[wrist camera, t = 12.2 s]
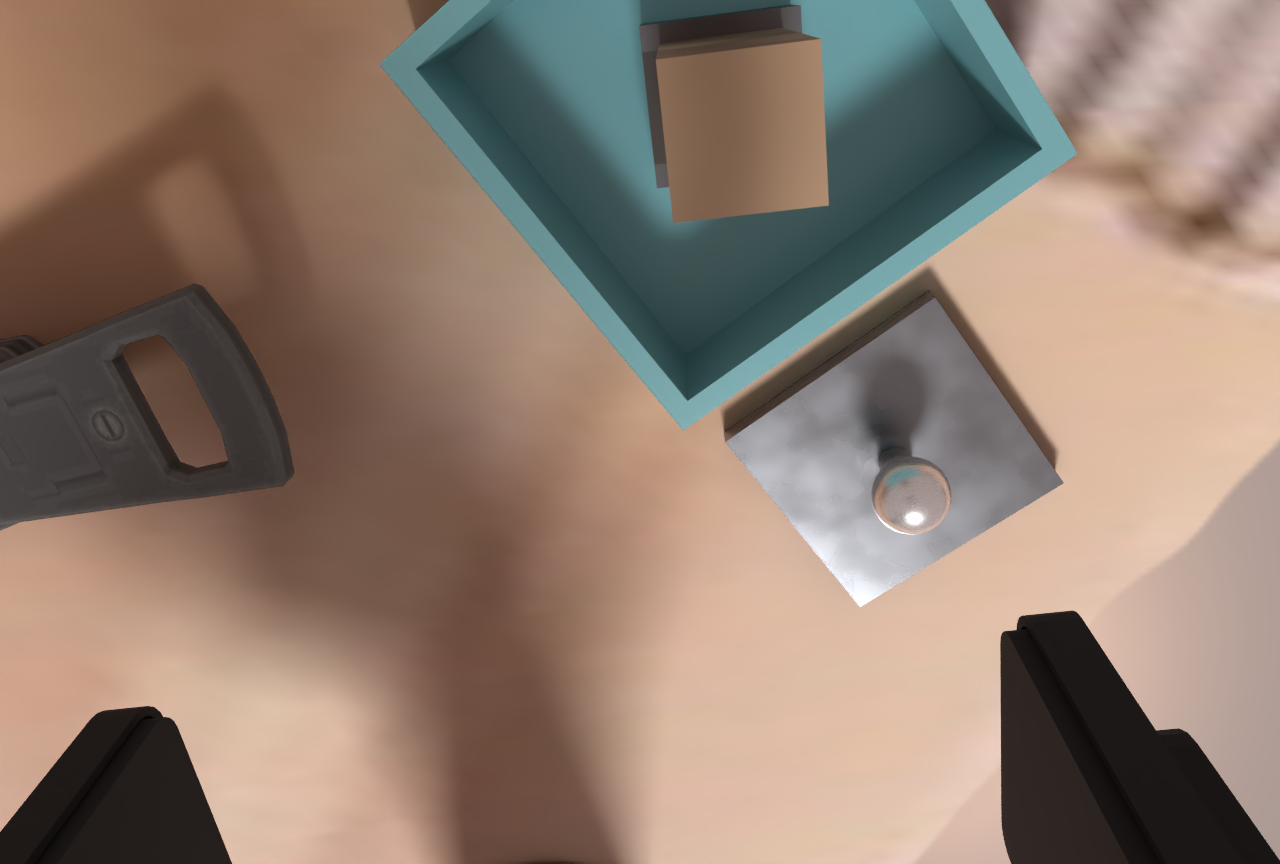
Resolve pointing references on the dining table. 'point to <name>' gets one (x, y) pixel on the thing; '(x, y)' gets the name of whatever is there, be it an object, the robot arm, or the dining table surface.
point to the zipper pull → (130, 415)
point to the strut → (736, 113)
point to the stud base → (893, 452)
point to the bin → (739, 245)
